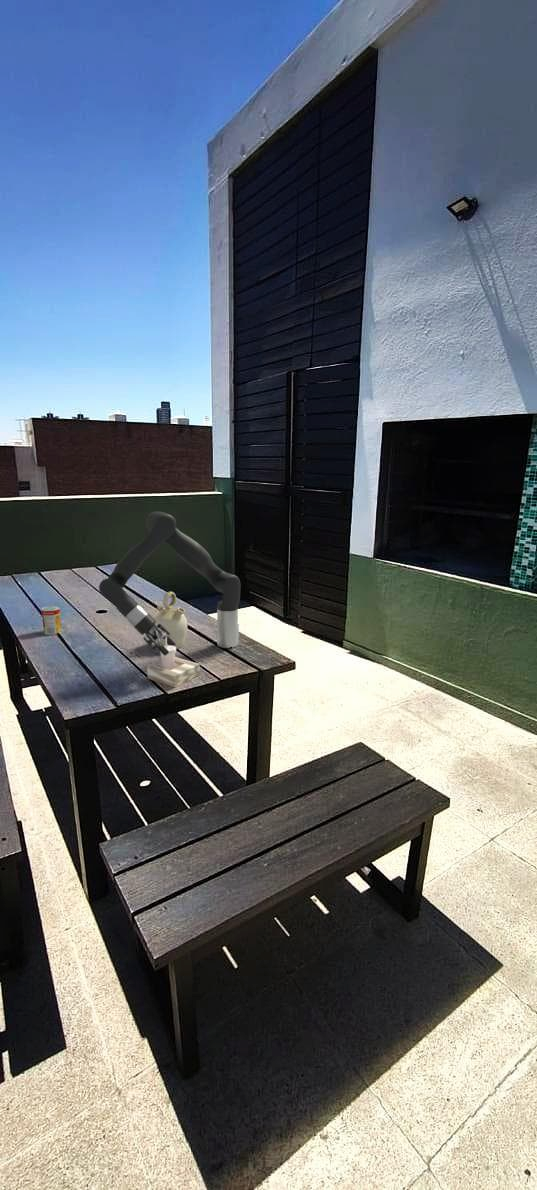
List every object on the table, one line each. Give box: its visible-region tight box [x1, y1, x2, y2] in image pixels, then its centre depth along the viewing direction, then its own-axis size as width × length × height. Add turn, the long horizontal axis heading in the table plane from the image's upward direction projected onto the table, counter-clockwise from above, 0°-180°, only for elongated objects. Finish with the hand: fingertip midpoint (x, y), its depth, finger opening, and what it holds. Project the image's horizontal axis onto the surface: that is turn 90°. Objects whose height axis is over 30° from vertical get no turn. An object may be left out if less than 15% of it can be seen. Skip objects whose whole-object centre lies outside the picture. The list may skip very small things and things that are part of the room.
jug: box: [153, 591, 188, 650], centre depth 218 cm, size 15×16×25 cm
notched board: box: [146, 656, 201, 688], centre depth 187 cm, size 14×14×4 cm
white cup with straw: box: [159, 637, 177, 670], centre depth 187 cm, size 6×6×14 cm
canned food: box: [41, 605, 63, 636], centre depth 232 cm, size 8×8×12 cm
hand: (170, 649), depth 186 cm, fingers open, 8 cm apart
